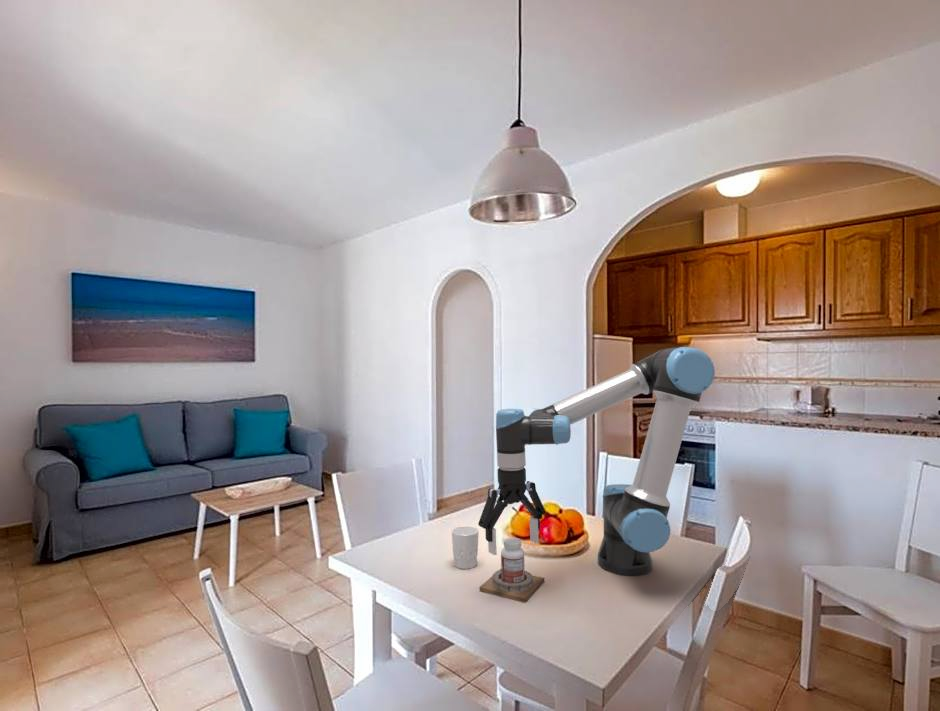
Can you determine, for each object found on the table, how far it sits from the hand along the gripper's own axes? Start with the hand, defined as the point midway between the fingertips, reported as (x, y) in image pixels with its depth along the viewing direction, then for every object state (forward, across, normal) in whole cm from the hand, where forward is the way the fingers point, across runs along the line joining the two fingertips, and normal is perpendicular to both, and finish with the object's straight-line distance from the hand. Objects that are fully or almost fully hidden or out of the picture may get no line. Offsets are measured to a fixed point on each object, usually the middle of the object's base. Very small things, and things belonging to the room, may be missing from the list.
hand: (514, 547), depth 130 cm
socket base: (+10, +1, 0) cm, 10 cm away
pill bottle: (+9, +1, 0) cm, 9 cm away
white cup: (+10, +4, -19) cm, 22 cm away
